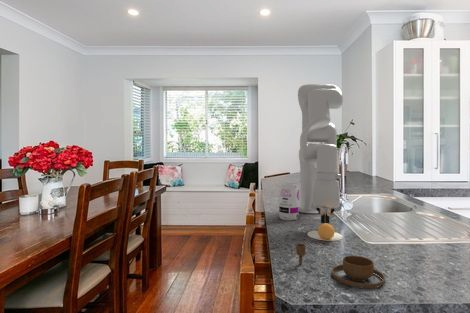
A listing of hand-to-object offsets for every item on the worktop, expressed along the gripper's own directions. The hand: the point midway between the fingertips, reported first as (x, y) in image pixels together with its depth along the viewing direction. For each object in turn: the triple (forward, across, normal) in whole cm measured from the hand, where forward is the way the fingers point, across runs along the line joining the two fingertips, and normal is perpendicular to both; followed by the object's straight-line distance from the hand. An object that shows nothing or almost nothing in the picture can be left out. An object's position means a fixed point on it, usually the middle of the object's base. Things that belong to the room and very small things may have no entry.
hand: (324, 225), depth 121 cm
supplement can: (+2, +15, -13) cm, 20 cm away
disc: (+2, 0, +9) cm, 9 cm away
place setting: (+2, -4, +41) cm, 41 cm away
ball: (-1, 0, +14) cm, 14 cm away
